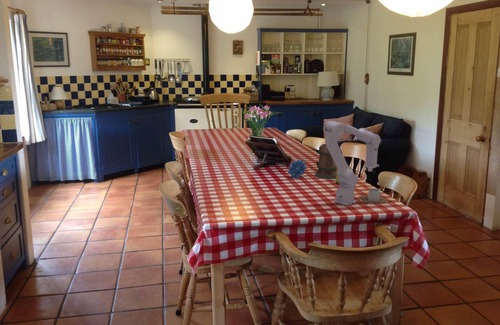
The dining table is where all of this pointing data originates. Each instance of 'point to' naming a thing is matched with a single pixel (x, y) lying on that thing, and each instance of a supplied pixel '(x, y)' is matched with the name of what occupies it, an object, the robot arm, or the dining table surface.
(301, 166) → the blue bumpy rounded lump
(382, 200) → the board
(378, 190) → the sleeve
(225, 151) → the dining table surface
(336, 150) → the robot arm
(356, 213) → the dining table surface
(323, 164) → the tankard
